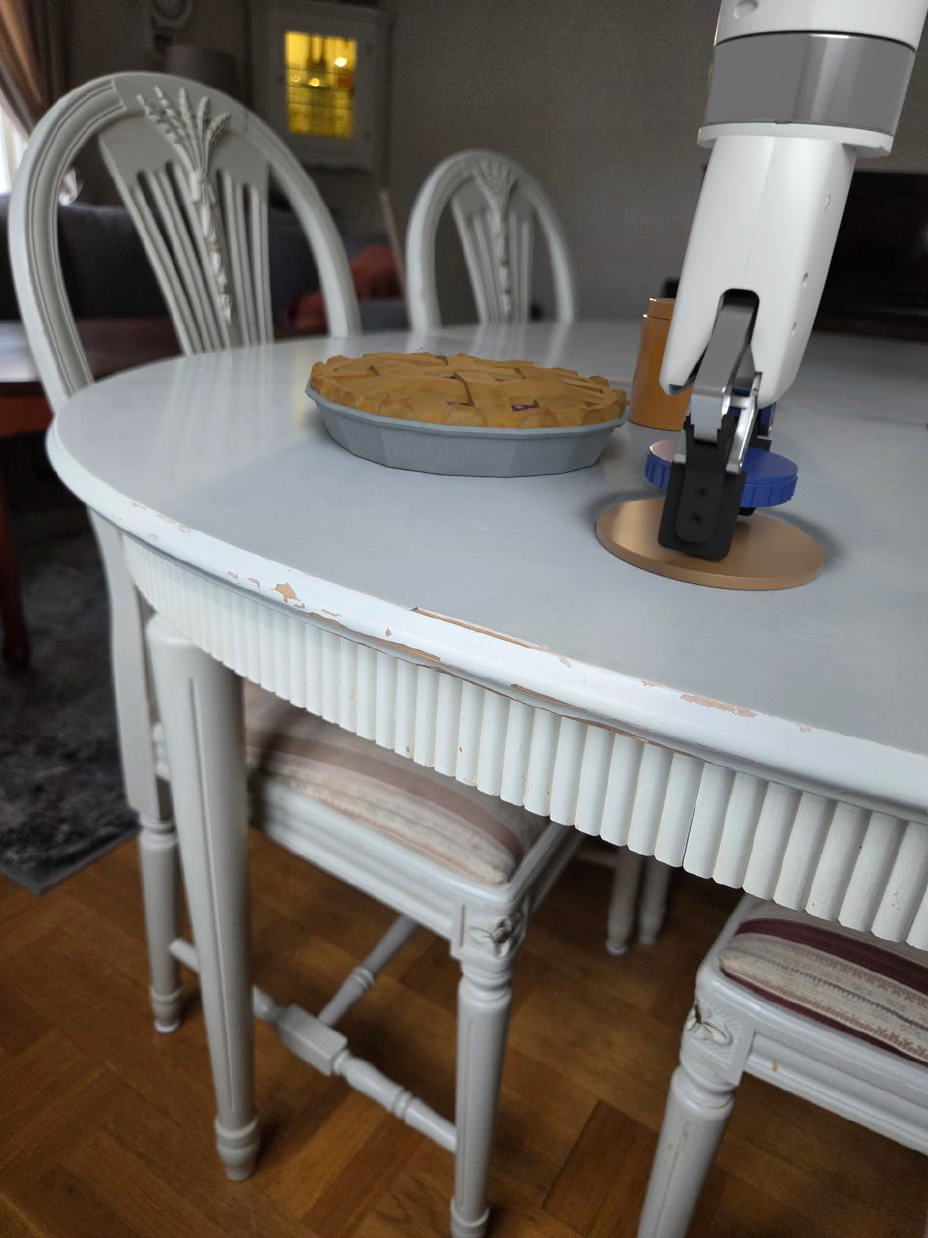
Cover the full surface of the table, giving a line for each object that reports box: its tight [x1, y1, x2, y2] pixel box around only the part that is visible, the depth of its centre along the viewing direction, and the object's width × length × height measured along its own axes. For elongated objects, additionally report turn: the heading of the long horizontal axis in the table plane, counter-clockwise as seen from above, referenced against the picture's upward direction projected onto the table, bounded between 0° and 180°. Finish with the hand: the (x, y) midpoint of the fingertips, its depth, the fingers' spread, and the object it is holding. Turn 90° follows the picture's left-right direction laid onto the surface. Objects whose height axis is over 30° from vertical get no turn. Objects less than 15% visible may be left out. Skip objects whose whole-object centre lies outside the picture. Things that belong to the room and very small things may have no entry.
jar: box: [627, 297, 693, 432], centre depth 66 cm, size 6×6×9 cm
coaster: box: [595, 498, 826, 591], centre depth 41 cm, size 11×11×1 cm
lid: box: [644, 438, 799, 508], centre depth 40 cm, size 7×7×1 cm
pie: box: [304, 351, 631, 478], centre depth 56 cm, size 22×22×5 cm
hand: (709, 526), depth 41 cm, fingers closed on lid, 6 cm apart
